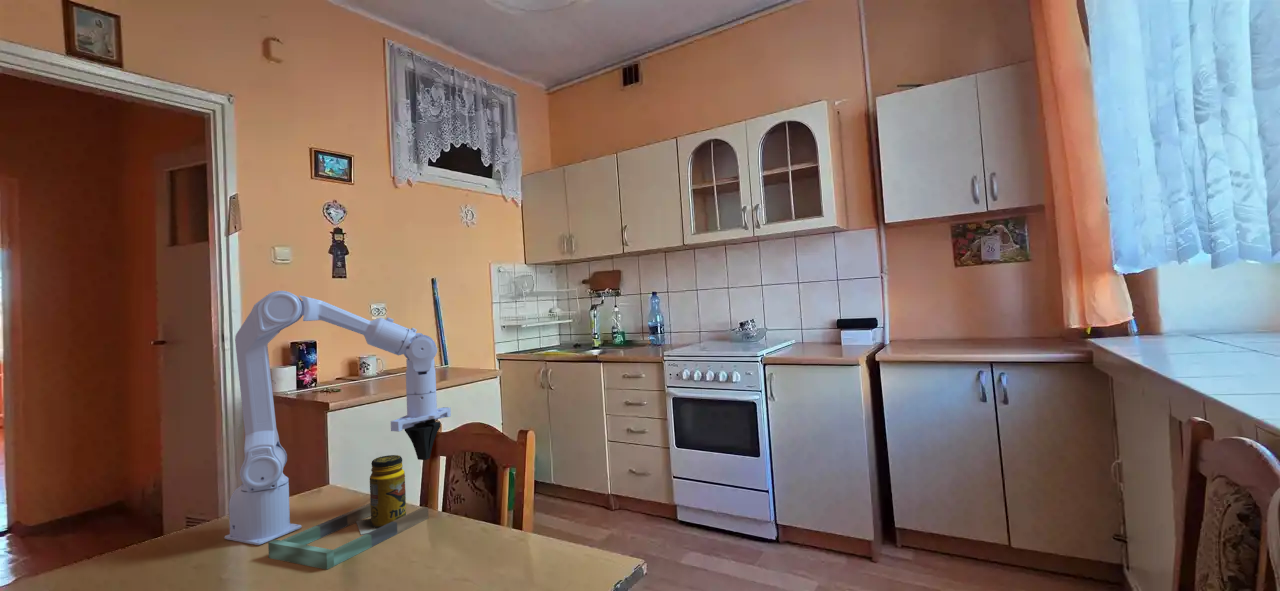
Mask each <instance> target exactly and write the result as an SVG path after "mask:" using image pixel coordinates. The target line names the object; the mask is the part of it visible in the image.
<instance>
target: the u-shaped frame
mask: <svg viewBox="0 0 1280 591" xmlns="http://www.w3.org/2000/svg"><path fill="white" fill-rule="evenodd" d="M370 517H371V505H370V503H367V504H364V505H362V506H360V507H358V508H357V507H356V508H355V509H352V510H350V511H348V512H345V513H343V514H340V515H338V516H335V517H333V518H331V519H329V520H326V521H324V522H322V523H319V524H317V525H314V526H312V527H310V528H307V529H305V530H302V531H300V532H298V533H296V534H293V535H291V536H287V537H286V538H283V539H281V540H279V539H273V540H270V541H268V542H267V543H268V559H271V560H278V561H283V562H287V563H293V564H298V565H302V566H305V567H306V566H308V567H312V568H317V569H322V570H326V571H327V570H329V569H331V568H333V567H336V566H337V565H339V564H341V563H344V562H345V561H347V560H349V559H351V558H353V557H355V556H356V555H358V554H362V553H363V552H364V551H366V550H368V549H371V548H373V547H374V546H376V545H378V544H381V543H383V542H384V541H387V540H388V539H390V538H392V537H394V536H396V535H398V534H400V533H402V532H404V531H406V530H408V529H410V528H412V527H414V526H416V525H418V524H420V523H422V522H424V521H425V520H428V519H429V517H430V516H429V507H427V506H422V507H420V508H418V509H416V510H414V511H411V512H409V513H406V515H405V516H403V517H401V518H399V519H397V520H395V521H393V522H390V523H388V524H386V525H384V526H382V527H380V528H378V529H376V530H374V531H372V532H369V533H365V534H362V535H361V536H359V537H357V538H355V539H352V540H350V541H348V542H346V543H344V544H342V545H340V546H339V547H336V548H334V549H331V548H330V549H329V548H325V547H321V546H320V547H318V546H315V545H308V544H310V543H313V542H315V541H317V540H319V539H322V538H323V537H326V536H328V535H331V534H333V533H335V532H337V531H340V530H342V529H344V528H347V527H349V526H351V525H354V524H355V523H356V521H359V520H365V519H366V518H367V519H368V518H370ZM356 524H357V523H356Z"/></svg>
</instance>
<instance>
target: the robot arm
mask: <svg viewBox="0 0 1280 591" xmlns="http://www.w3.org/2000/svg"><path fill="white" fill-rule="evenodd" d="M301 318H302V322H313V321H314V322H315V321H322V322H326V323H329V324H332V325H334V326H337V327H340V328H342V329H346V330H348V331H351V332H353V333H354V332H355V333H356V334H360V335H362V336H363V337H364V339H365V342H366V343H367V345H369V346H371V347H374V348H377V349H379V350H383V351H384V352H387V353H390V354H393V355H396V356H401V355H404V357H405V358H406V371H405V389H406V390H405V392H406V396H405V397H406V414H405V415H403V416H401V417H400V418H397V419H394V420H391V421H390V432H401V431H403V430H404V431H405V433H406V435H407V436H408V438H409V439H410V442H411V443H412V446H413V449H414V451H415V454H416V457H417V460H419V461H427V460H429V459H430V458H431V454H432V449H433V446H434V443H435V442H434V441H435V440H436V437H437V434H438V432H439V431H440V428H441V422H440V421H436V420H440V419H444V418H450V417H451V416H452V415H451V414H452V412H451V407H448V406H447V407H439V408H438V407H437V406H438V405H437V402H438V401H437V378H436V377H437V376H436V374H437V373H436V368H435V365H436V361H435V357H436V356H437V354H438V347H437V345H436V342H435V340H434V339H433V338H432V337H430V336H429V335H426V334H423V333H421V332H417V331H418V330H417V328H415V327H411V328H408V327H406V326H403V325H401V324H399V323H395V322H394V320H395V319H394V318H391V317H386V318H383V317H379V318H376V319H372V320H369V319H366V318H364V317H362V316H360V315H357V314H355V313H353V312H351V311H348V310H346V309H343V308H340V307H338V306H336V305H333V304H331V303H329V302H327V301H324V300H322V299H321V300H320V299H316V298H313V297H308V296H305V295H300V294H299V295H296V294H294V293H292V292H290V291H287V290H276V291H272V292H270V293H268V294H267V295H265V296H264V297H262V298H261V299H260V300H258V301H257V302H256V303H254V305H253V307H252V308H251V310H250V312H249V314H248V316H247V317H246V319H245V320H244V322H243V323H242V325H241V326H240V328H239V329H238V331H237V332H236V334H235V338H234V343H235V351H236V361H237V369H238V370H237V373H238V381H239V389H240V401H241V408H242V416H243V417H242V418H243V419H242V420H243V427H244V436H245V437H244V445H243V447H244V448H243V451H244V452H243V453H244V460H243V461H242V462H243V463H242V464H241V467H240V468H239V469H240V470H239V478H240V481H241V482H242V483H241V485H240V486H239V487H236V488H235V490H234V491H232V494H231V496H230V499H229V504H228V510H229V511H228V514H229V534H227V535H224V539H225V540H228V541H235V542H240V543H245V544H251V545H256V546H260V545H262V544H265V543H268V542H271V541H273V540H276V539H277V538H280V537H283V536H285V535H287V534H290V533H292V532H294V531H297V530H299V529H301V528H302V524H297V523H291V517H290V515H291V514H290V510H291V508H290V485H289V484H290V482H289V479H290V478H289V477H288V476H286V474H284V472H283V471H284V467H285V466H286V464H287V462H288V454H287V451H286V450H285V448H284V447H283V446H282V445H281V443H280V436H279V432H278V429H277V422H276V421H277V420H276V412H275V411H276V410H275V404H274V395H273V394H274V393H273V385H272V383H273V382H272V377H271V375H272V374H271V366H270V365H271V364H270V357H269V346H268V345H269V343H270V342H271V341H272V340H274V338H276V337H277V335H278V334H279V333H280V332H281V331H283V330H284V329H286V328H288V327H290V326H291V325H293V324H295V323H298V321H299V320H301Z"/></svg>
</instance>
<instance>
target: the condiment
mask: <svg viewBox="0 0 1280 591" xmlns="http://www.w3.org/2000/svg"><path fill="white" fill-rule="evenodd" d="M370 471H371V474H370V476H369V496H370V497H369V498H370V499H369V501H370V505H371V516H370V517H369V518H367V519H366V518H365V519H362V520H359V521H356V525H357V529H358V530H359V533H360V535H361V536H363V535H365V534H367V533H369V532H372V531H374V530H376V529H378V528H380V527H382V526H384V525H386V524H388V523H390V522H393V521H395V520H397V519H399V518H401V517H403V516H405V515H407V501H406V500H407V497H406V496H407V495H406V475H405V474H406V473H405V470H404V469H403V458H402V456H401V455H398V454H391V455H389V454H388V455H381V456H378V457H376V458H374V459H373V460H371V469H370Z"/></svg>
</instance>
